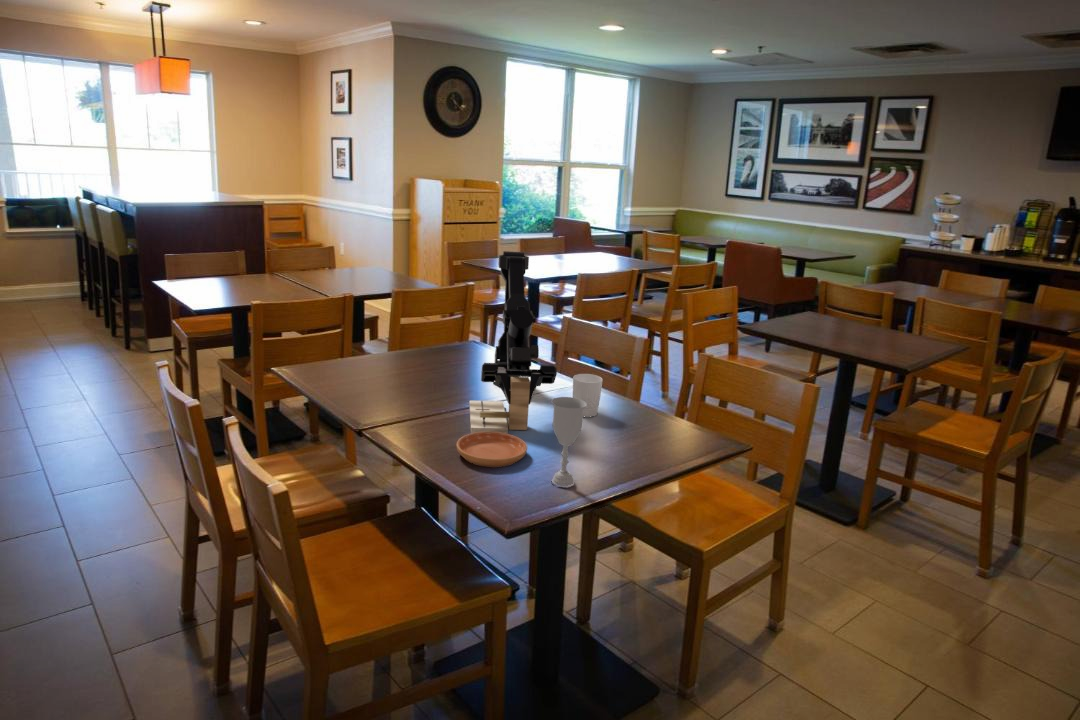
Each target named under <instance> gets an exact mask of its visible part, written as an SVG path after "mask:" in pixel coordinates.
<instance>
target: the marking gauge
mask: <svg viewBox="0 0 1080 720" xmlns="http://www.w3.org/2000/svg"><path fill="white" fill-rule="evenodd" d="M529 392H530V377H511V378H510V396H511V402H510V404H508V411H505V412H491V411H480V418H483V419H485V418H506V419H508V420H507V425H508V431H510V430H514V431H515V430H517V431H519V430H521V431H526V430H527V431H528V423H529V422H528V419H529V406H530V405H529Z"/></svg>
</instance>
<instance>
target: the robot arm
mask: <svg viewBox="0 0 1080 720" xmlns="http://www.w3.org/2000/svg"><path fill="white" fill-rule="evenodd" d="M529 259H530V257H529V256H528V255H525V252H524V251H511V250H510V251H509V250H508V251H507V250H505V251H504V250H503V251H502V254H498V268H499V269H500V270H499V271H500V275H501V277H502V279H503V280H504V285H505V287H504V309H503V310H502V324H503V333H502V334H501V336H500V337H499V339H498V342H497V346H495V351H494V362H484V363H482V365H481V374H480V375H481V376H480V381H481V382H482V383H492V384H493V385H495V386H498V387H499V388H500V389H501V391H502V393H503V395H504V397H505V399H506V402H507V403H508V405H509V404H510V402H511V396H510V378H511V377H529V380H530V392H529V406H530V404H531V401H532V398H533V396H534V393H535V391H536V389H537V387H540V386H541V385H546V384H547V385H549V384H550V385H552V384H554V383H555V382H556V378H557V375H558V373H557V372H558V370H557V366H556V365H555V364H542V363H541V364H540V367H539V368H538V369H532V368H531V367H532V360H534V359H535V360H537V359H538V358H539V356H540V355H539V345H535V344H533V345H530V337H531V333H532V328H533V325H534V324H535V323H536V321H537V320H536V316H535V315H534V313H533V310H531V306H530V302H529V300H528V299H527V298H526V295H525V274H526V271H527V270H529V265H530V264H529V262H530V260H529Z"/></svg>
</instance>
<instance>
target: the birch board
mask: <svg viewBox="0 0 1080 720" xmlns="http://www.w3.org/2000/svg"><path fill="white" fill-rule="evenodd" d="M504 405H505V404H504V401H503V400H469V406H468V407H469V418H470V419H469V420H470V421H469V422H470V423H469V424H470V434H471V433H476V432H500V433H506V434H509V426H508V420H507V418H485V419H483V418H480V411H491V412H506V411H505V406H504Z"/></svg>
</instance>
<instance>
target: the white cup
mask: <svg viewBox="0 0 1080 720" xmlns="http://www.w3.org/2000/svg"><path fill="white" fill-rule="evenodd" d="M602 385H603V378H602V377H601V376H599V375H596V374H592V373H578V374H575V375H573V377H572V398H577V399H580V400H583V401H585V402H586V404H587V405H586V407H585V408H584V411H583V416H585V417H584V418H591V417H590V416H594V417H596V416H598V412H599V406H600V400H601V395H602V394H601V393H602V388H603V387H602ZM595 415H596V416H595ZM587 416H588V417H587Z"/></svg>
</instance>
